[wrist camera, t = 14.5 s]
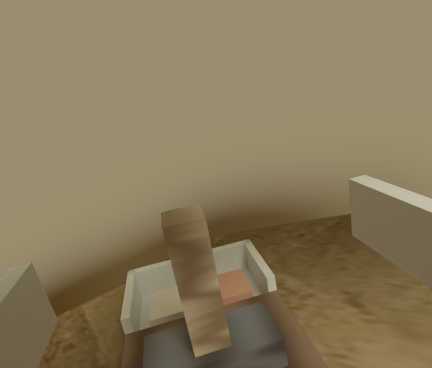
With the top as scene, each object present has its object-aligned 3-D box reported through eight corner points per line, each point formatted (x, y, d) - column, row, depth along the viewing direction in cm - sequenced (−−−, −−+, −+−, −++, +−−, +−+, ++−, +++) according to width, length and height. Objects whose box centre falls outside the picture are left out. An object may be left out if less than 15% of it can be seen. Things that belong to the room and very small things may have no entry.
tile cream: (193, 301, 39) (188, 282, 38) (198, 329, 34) (193, 308, 33) (156, 312, 38) (150, 293, 37) (156, 341, 33) (150, 320, 33)
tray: (253, 267, 45) (248, 238, 44) (279, 310, 36) (274, 275, 34) (137, 299, 43) (128, 270, 41) (132, 355, 33) (120, 320, 32)
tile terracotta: (243, 287, 40) (240, 268, 39) (255, 311, 35) (252, 290, 34) (208, 297, 39) (204, 278, 38) (215, 323, 34) (211, 302, 34)
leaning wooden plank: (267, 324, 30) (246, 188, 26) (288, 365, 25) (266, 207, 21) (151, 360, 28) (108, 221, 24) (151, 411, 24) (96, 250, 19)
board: (279, 310, 36) (276, 289, 35) (337, 405, 24) (335, 379, 24) (132, 355, 33) (125, 334, 32) (120, 485, 22) (108, 458, 21)
